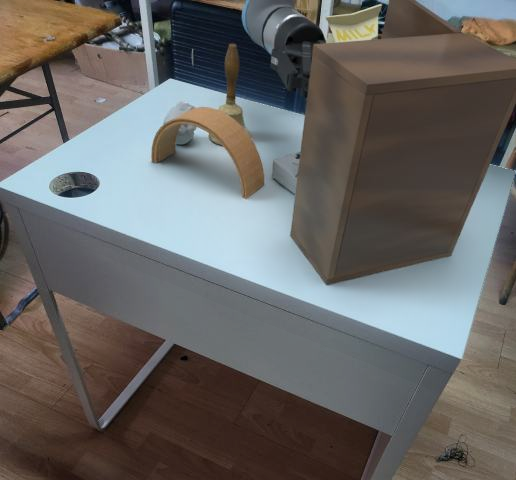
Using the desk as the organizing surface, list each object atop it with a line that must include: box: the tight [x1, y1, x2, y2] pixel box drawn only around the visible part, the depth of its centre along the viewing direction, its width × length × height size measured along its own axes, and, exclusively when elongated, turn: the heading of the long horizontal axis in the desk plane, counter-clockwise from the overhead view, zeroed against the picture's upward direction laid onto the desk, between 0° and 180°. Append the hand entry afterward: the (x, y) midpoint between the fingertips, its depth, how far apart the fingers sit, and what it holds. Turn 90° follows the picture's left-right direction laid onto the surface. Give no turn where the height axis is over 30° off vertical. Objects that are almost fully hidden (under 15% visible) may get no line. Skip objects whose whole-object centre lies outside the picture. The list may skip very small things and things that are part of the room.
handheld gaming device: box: [271, 151, 301, 195], centre depth 86 cm, size 9×15×4 cm, turn 125°
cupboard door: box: [380, 0, 463, 39], centre depth 79 cm, size 7×21×26 cm, turn 12°
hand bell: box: [208, 43, 253, 146], centre depth 90 cm, size 8×8×16 cm
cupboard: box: [289, 32, 516, 286], centre depth 65 cm, size 12×21×26 cm, turn 112°
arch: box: [150, 106, 265, 200], centre depth 83 cm, size 6×20×10 cm, turn 57°
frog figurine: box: [162, 101, 198, 145], centre depth 91 cm, size 6×7×7 cm
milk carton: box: [324, 3, 383, 43], centre depth 70 cm, size 9×9×20 cm
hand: (365, 98), depth 67 cm, fingers closed on milk carton, 8 cm apart
